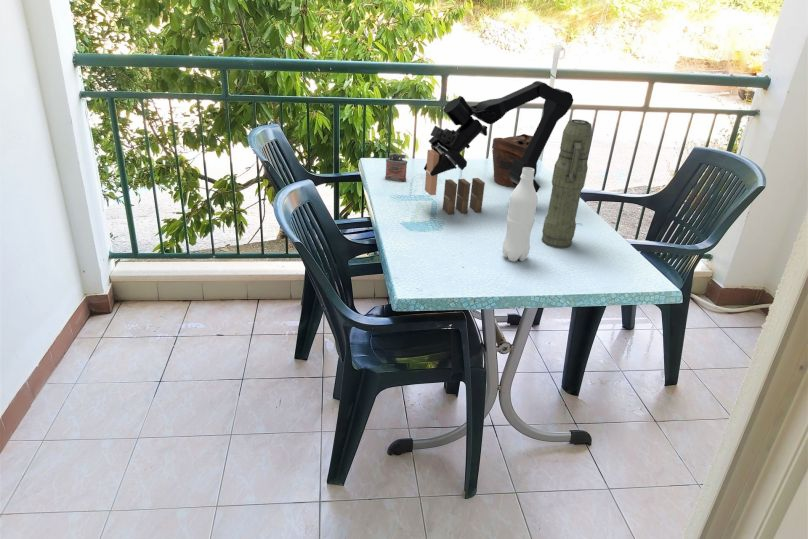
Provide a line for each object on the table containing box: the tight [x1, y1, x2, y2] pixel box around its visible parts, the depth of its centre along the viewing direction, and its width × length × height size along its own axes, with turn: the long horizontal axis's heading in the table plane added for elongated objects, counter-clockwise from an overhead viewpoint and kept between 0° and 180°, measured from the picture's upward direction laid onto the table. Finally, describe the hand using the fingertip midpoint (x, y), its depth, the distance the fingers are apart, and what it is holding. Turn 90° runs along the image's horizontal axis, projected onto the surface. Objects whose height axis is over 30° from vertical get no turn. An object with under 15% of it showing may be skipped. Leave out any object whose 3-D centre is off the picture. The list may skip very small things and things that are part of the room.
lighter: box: [384, 152, 408, 183], centre depth 206 cm, size 8×3×10 cm, turn 73°
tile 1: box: [468, 177, 486, 213], centre depth 183 cm, size 2×5×10 cm, turn 19°
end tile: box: [424, 149, 439, 196], centre depth 174 cm, size 2×5×13 cm, turn 19°
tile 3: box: [442, 178, 458, 215], centre depth 180 cm, size 2×5×10 cm, turn 18°
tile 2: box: [455, 178, 471, 214], centre depth 181 cm, size 2×5×10 cm, turn 18°
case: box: [491, 133, 533, 188], centre depth 210 cm, size 18×20×18 cm
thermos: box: [541, 119, 593, 249], centre depth 157 cm, size 9×12×35 cm
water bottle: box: [501, 167, 539, 262], centre depth 148 cm, size 7×7×25 cm
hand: (427, 172), depth 173 cm, fingers closed on end tile, 5 cm apart
